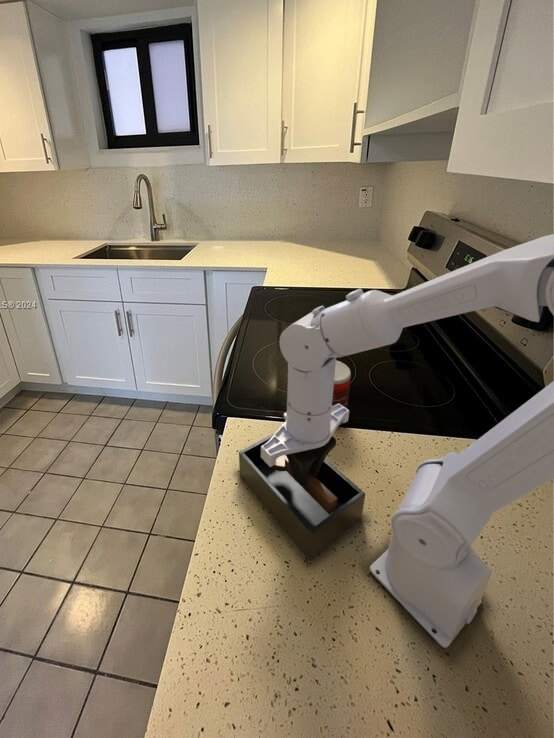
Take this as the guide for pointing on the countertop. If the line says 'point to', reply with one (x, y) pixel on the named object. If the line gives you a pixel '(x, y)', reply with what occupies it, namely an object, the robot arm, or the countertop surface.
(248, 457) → the tin
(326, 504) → the tan long slender bar
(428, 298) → the robot arm
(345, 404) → the canned food
